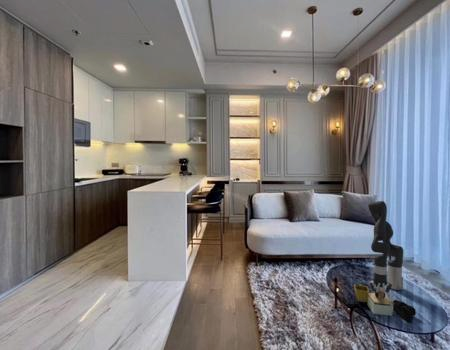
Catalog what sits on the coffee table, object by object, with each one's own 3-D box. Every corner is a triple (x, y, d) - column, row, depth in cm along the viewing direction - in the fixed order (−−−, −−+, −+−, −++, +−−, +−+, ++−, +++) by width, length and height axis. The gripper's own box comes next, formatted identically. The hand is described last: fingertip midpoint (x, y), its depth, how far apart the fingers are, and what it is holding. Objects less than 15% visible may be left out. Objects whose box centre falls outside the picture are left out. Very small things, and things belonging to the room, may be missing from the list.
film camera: (422, 323, 152) (422, 309, 152) (406, 323, 152) (406, 308, 152) (405, 309, 167) (405, 296, 167) (390, 309, 167) (390, 296, 167)
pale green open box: (385, 306, 171) (385, 297, 171) (392, 315, 160) (392, 306, 160) (367, 304, 173) (367, 296, 173) (373, 313, 162) (373, 304, 162)
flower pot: (355, 302, 176) (355, 289, 176) (353, 296, 184) (354, 284, 184) (369, 304, 173) (369, 291, 173) (367, 298, 181) (367, 286, 181)
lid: (385, 297, 171) (386, 287, 171) (393, 306, 159) (393, 295, 159) (367, 295, 173) (367, 285, 173) (373, 304, 162) (373, 293, 162)
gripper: (389, 270, 168) (389, 295, 168) (366, 268, 171) (366, 293, 171) (394, 275, 161) (394, 301, 161) (370, 273, 164) (370, 299, 164)
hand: (380, 297), depth 166 cm, fingers closed on lid, 3 cm apart
